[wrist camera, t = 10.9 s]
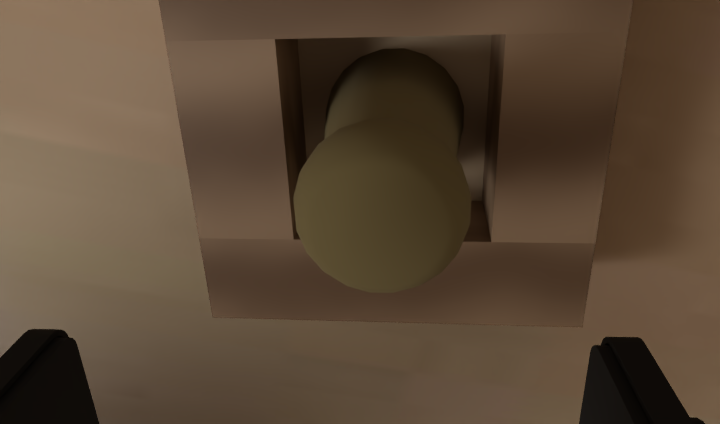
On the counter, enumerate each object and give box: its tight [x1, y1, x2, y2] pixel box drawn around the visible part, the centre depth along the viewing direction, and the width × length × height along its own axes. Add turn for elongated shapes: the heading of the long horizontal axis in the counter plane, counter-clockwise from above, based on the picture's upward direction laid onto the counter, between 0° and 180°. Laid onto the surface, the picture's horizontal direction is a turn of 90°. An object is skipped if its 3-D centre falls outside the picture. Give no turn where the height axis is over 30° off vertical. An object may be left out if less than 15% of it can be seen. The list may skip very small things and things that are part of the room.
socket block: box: [159, 0, 633, 327], centre depth 24 cm, size 16×16×5 cm
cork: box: [293, 48, 471, 293], centre depth 21 cm, size 6×6×11 cm
